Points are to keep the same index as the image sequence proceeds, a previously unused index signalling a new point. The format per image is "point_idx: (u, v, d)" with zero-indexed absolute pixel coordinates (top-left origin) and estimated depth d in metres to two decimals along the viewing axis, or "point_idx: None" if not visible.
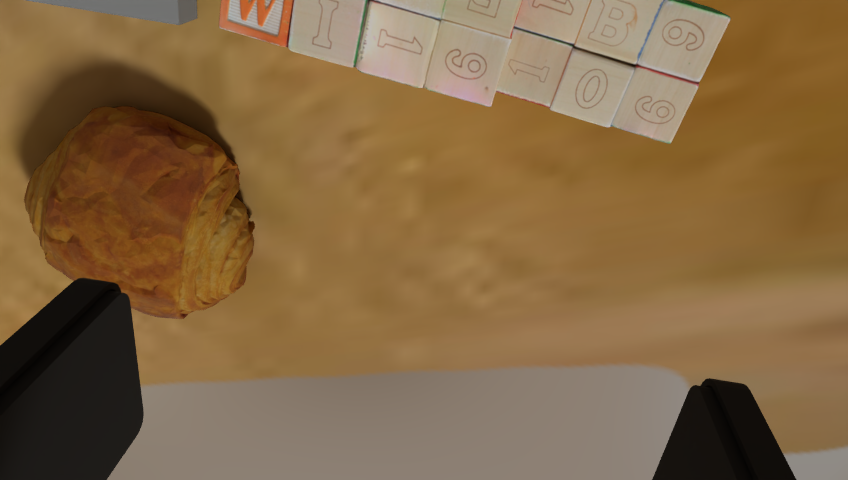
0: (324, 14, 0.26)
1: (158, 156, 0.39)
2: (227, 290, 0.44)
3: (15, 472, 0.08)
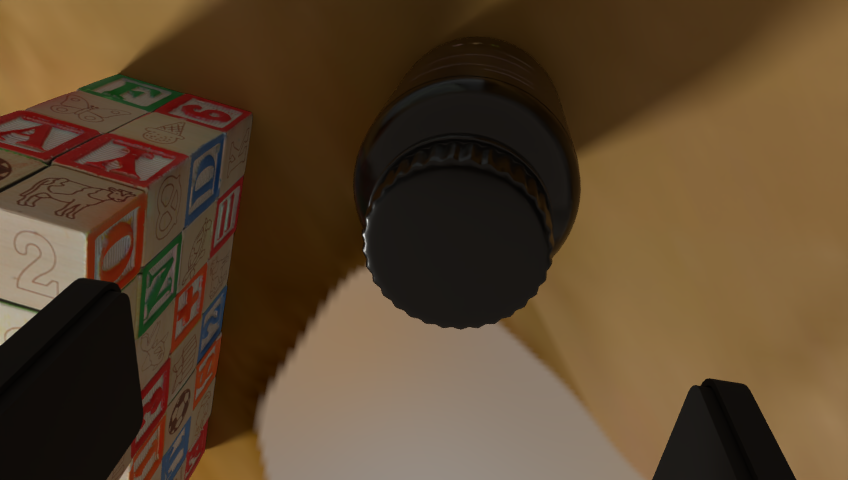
0: None
1: None
2: None
3: (15, 472, 0.08)
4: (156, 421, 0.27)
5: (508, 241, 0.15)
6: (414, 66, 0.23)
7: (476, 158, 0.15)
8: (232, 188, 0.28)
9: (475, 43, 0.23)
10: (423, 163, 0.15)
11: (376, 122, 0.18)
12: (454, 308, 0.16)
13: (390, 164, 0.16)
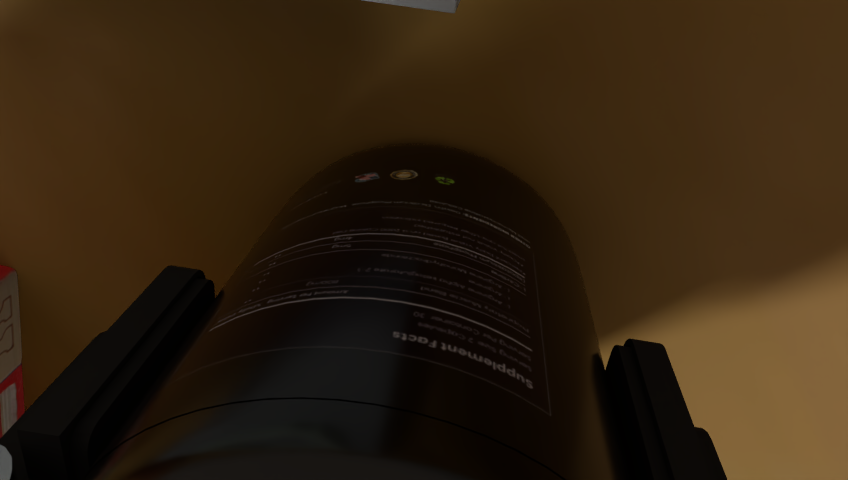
0: None
1: None
2: None
3: None
4: None
5: None
6: (279, 216, 0.11)
7: None
8: None
9: (403, 175, 0.10)
10: None
11: None
12: None
13: None
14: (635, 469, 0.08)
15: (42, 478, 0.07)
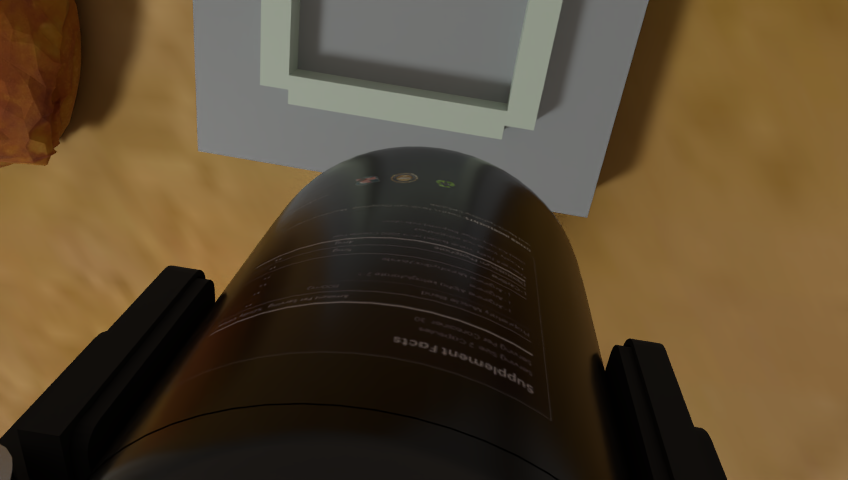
0: None
1: (4, 114, 0.27)
2: None
3: None
4: None
5: None
6: (280, 219, 0.11)
7: None
8: None
9: (403, 178, 0.11)
10: None
11: None
12: None
13: None
14: (635, 469, 0.08)
15: (42, 478, 0.07)
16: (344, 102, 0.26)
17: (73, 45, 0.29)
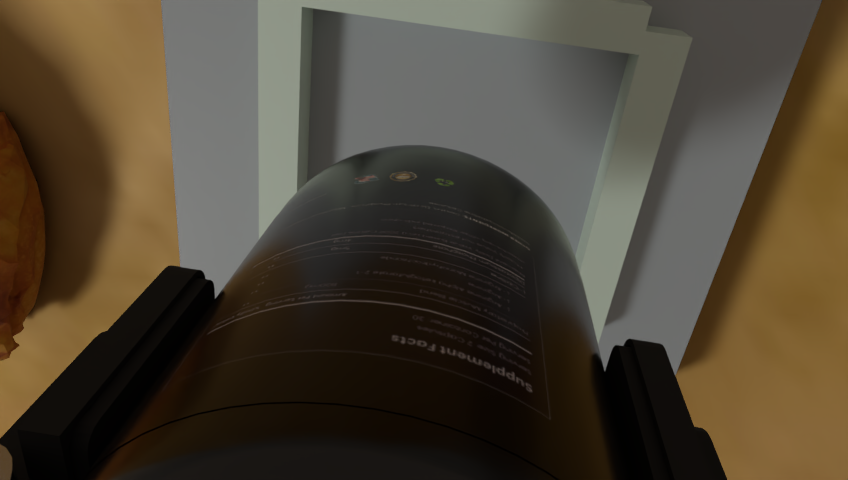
0: None
1: None
2: None
3: None
4: None
5: None
6: (278, 217, 0.11)
7: None
8: None
9: (402, 177, 0.10)
10: None
11: None
12: None
13: None
14: (635, 469, 0.08)
15: (42, 478, 0.07)
16: None
17: (34, 231, 0.24)
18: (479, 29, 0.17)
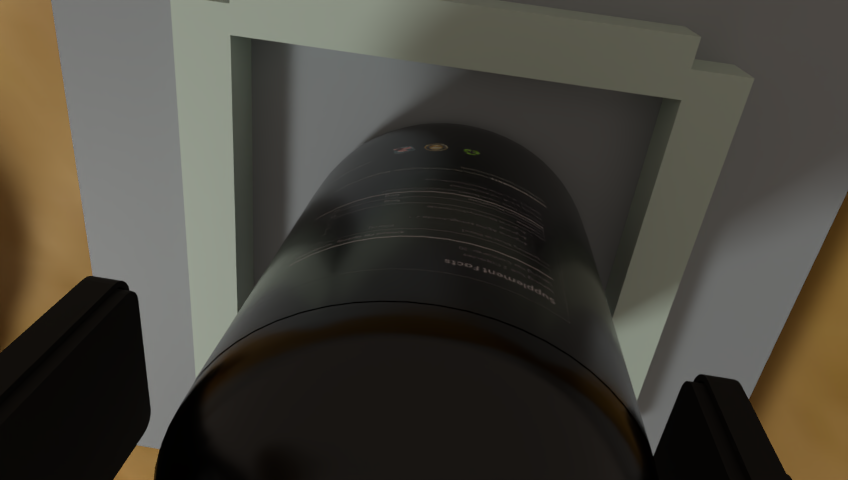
0: None
1: None
2: None
3: (27, 468, 0.08)
4: None
5: None
6: (326, 184, 0.13)
7: None
8: None
9: (435, 147, 0.12)
10: None
11: (186, 406, 0.08)
12: None
13: None
14: None
15: None
16: None
17: None
18: (467, 65, 0.12)
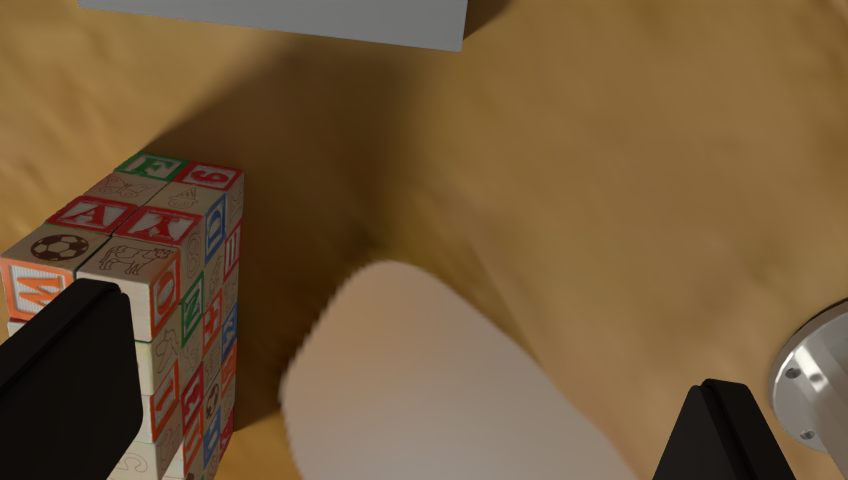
0: None
1: None
2: None
3: (15, 472, 0.08)
4: (197, 409, 0.36)
5: None
6: None
7: None
8: (234, 229, 0.36)
9: None
10: None
11: None
12: None
13: None
14: None
15: None
16: None
17: None
18: None
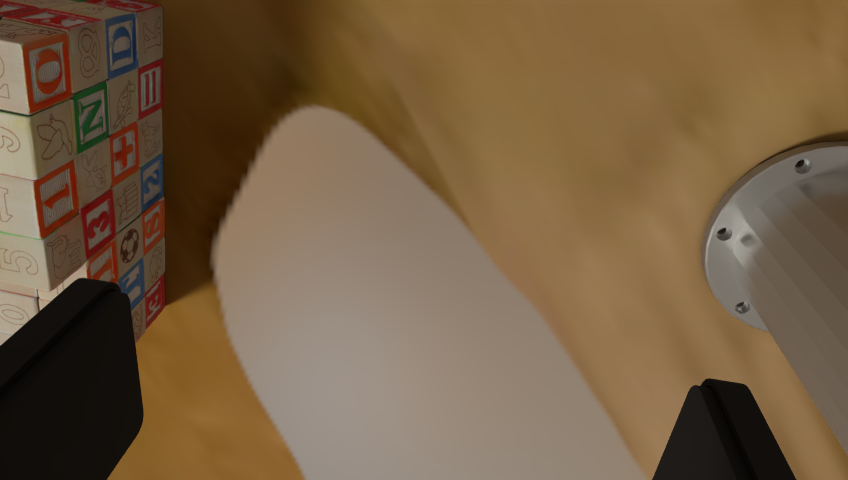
0: None
1: None
2: None
3: (15, 472, 0.08)
4: (106, 240, 0.36)
5: None
6: None
7: None
8: (152, 65, 0.37)
9: None
10: None
11: None
12: None
13: None
14: None
15: None
16: None
17: None
18: None
